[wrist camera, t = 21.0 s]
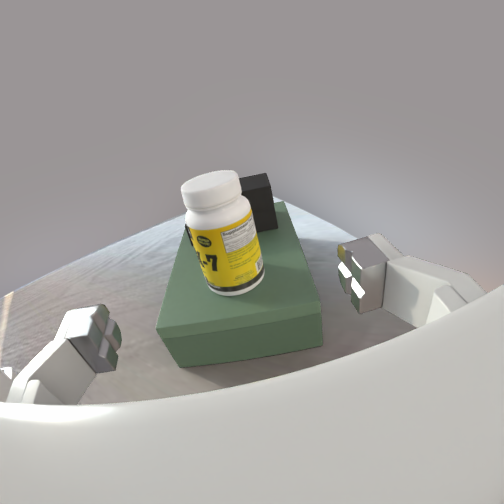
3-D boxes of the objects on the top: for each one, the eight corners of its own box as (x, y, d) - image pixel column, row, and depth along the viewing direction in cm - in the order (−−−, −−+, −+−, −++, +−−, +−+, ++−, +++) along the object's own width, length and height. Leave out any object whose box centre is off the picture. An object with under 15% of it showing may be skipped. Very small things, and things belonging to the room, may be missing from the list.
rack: (179, 368, 23) (155, 328, 20) (198, 254, 38) (187, 221, 36) (322, 345, 22) (320, 300, 20) (289, 236, 37) (283, 200, 35)
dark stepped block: (191, 246, 30) (178, 206, 27) (196, 227, 34) (185, 190, 31) (278, 228, 29) (270, 185, 27) (273, 210, 33) (266, 172, 31)
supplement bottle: (198, 279, 25) (165, 187, 20) (244, 254, 26) (221, 164, 22) (226, 307, 21) (191, 199, 16) (277, 276, 23) (256, 172, 18)
